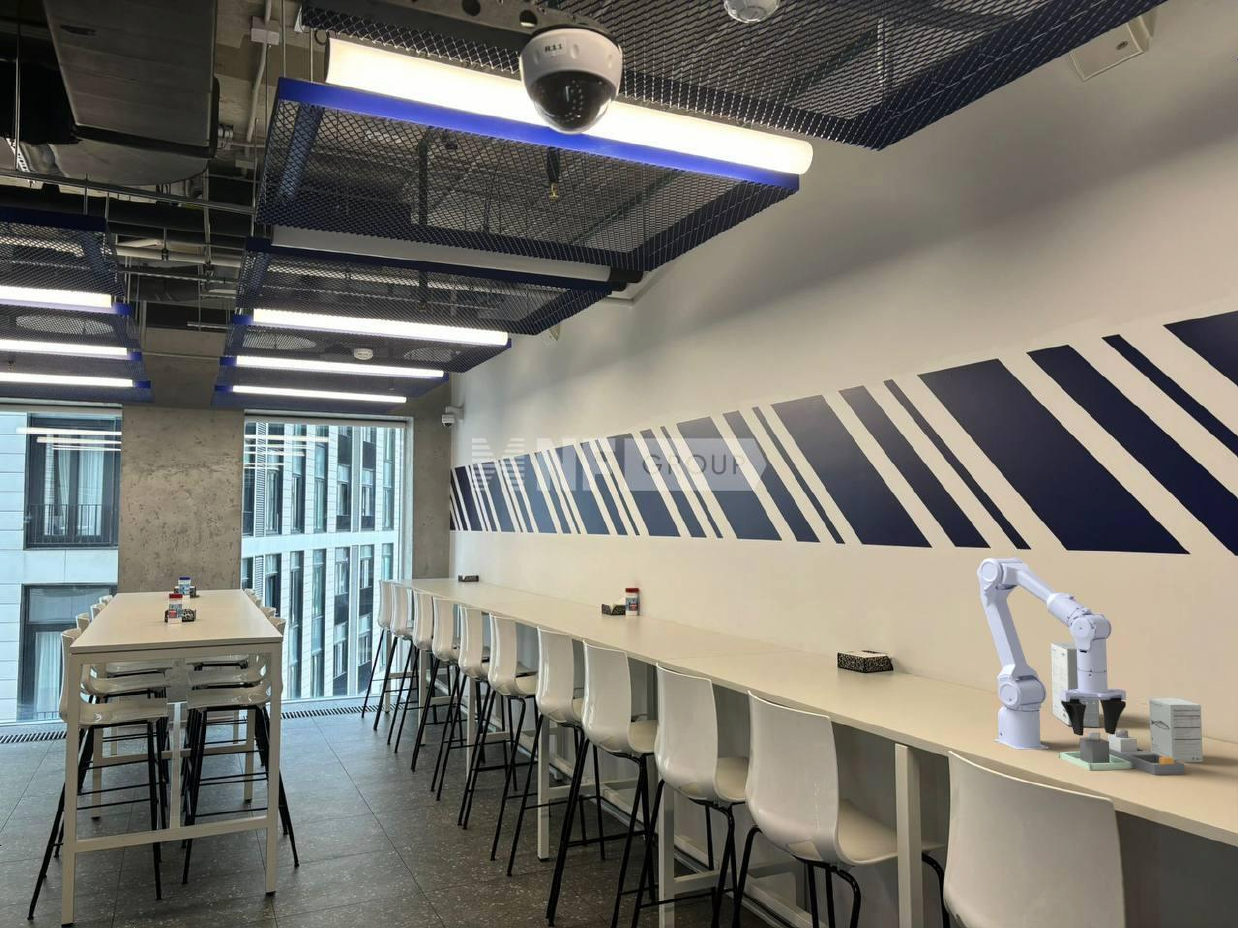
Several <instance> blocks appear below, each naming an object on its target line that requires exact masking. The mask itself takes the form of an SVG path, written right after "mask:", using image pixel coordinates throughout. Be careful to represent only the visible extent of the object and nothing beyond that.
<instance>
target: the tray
mask: <svg viewBox="0 0 1238 928" xmlns="http://www.w3.org/2000/svg"><path fill="white" fill-rule="evenodd" d="M1109 756H1110V763H1094V764H1090V763H1087V762H1085V761H1082V760H1080V751H1064V752H1063V751H1061V752H1058V759H1060V760H1062V761H1065V762H1067V763H1070V764H1072V765H1075V766H1078V767H1080V768H1082V769H1085V770H1087V771H1110V770H1111V771H1112V770H1113V771H1115V770H1133V769H1134V767H1133V765H1132V762H1129V761H1126V760H1124V759H1121V758H1118V757H1115V756H1113V755H1110V754H1109Z"/></svg>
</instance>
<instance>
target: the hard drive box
mask: <svg viewBox="0 0 1238 928" xmlns="http://www.w3.org/2000/svg"><path fill="white" fill-rule="evenodd" d="M1050 649H1051V650H1050V654H1051V656H1050V657H1051V660H1050V662H1051V693H1052V694H1051V697H1052V715H1054V716H1055V717H1056V718H1058V719H1059V720H1060V721H1061V722H1063V723H1064V724H1065V725H1067V726H1071V727H1072V725H1071V722H1070V719H1069V716H1068V714H1067V712H1066V710H1065V709H1064V707H1063V705H1062V704H1061V700H1060V691H1067V690H1074V689H1078V674H1077V648H1076V646H1075V642H1065V641H1064V642H1063V641H1062V642H1061V641H1051V643H1050ZM1080 702H1081V704H1084V705H1086V709H1085V713H1084V720H1083V725H1084V727H1089V728H1090V727H1091V728H1100V705H1099V704H1100V703H1099V702H1100V700H1080Z"/></svg>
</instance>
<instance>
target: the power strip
mask: <svg viewBox="0 0 1238 928" xmlns="http://www.w3.org/2000/svg"><path fill="white" fill-rule="evenodd" d="M1109 754H1110V755H1113V756H1115V757H1118V758H1121V759H1124V760H1126V761H1129V762H1132V765H1133V769H1136V770H1140V771H1142V772H1145V773H1148V774H1151V775H1153V776H1165V775H1166V776H1167V775H1185V774H1186V773H1185V772H1186V769H1185V767H1186V766H1185V762H1182V761H1179V760H1174V758H1172V757H1163V756H1160V755H1157V754H1154V753H1152V752H1151V751H1148V750H1145V749H1142V748H1140V747H1137V751H1133V752H1119V751H1116V750H1113V749H1110V748H1109Z"/></svg>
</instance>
